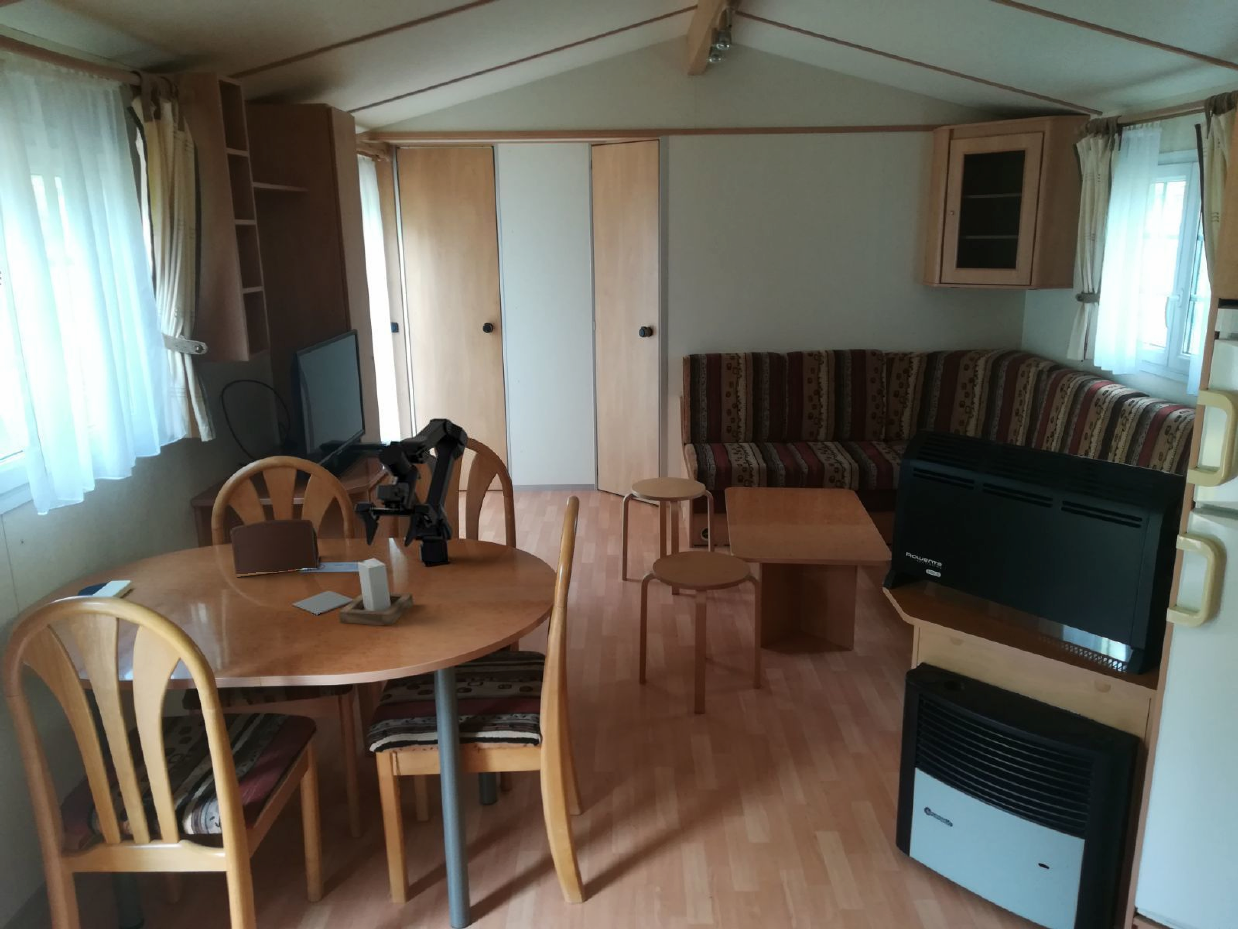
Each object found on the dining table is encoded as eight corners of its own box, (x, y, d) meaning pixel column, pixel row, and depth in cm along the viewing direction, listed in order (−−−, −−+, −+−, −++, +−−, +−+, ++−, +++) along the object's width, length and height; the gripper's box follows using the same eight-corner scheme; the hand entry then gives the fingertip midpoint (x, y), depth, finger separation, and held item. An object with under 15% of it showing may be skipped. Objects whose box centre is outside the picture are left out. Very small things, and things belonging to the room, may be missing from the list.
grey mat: (329, 592, 220) (328, 590, 220) (354, 601, 214) (354, 599, 214) (292, 605, 212) (291, 604, 212) (317, 615, 206) (316, 613, 206)
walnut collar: (365, 601, 213) (364, 591, 213) (413, 604, 211) (412, 594, 210) (340, 622, 202) (338, 612, 201) (390, 625, 200) (389, 614, 199)
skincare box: (392, 614, 206) (387, 563, 203) (374, 620, 203) (368, 568, 200) (380, 606, 210) (375, 556, 207) (362, 612, 207) (357, 561, 204)
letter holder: (317, 569, 236) (311, 517, 233) (236, 579, 231) (228, 525, 228) (319, 557, 245) (313, 506, 242) (240, 565, 240) (233, 514, 237)
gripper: (353, 468, 214) (335, 528, 206) (428, 470, 210) (412, 531, 202) (371, 492, 223) (355, 549, 215) (443, 494, 219) (429, 553, 211)
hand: (387, 545), depth 211 cm, fingers open, 9 cm apart
